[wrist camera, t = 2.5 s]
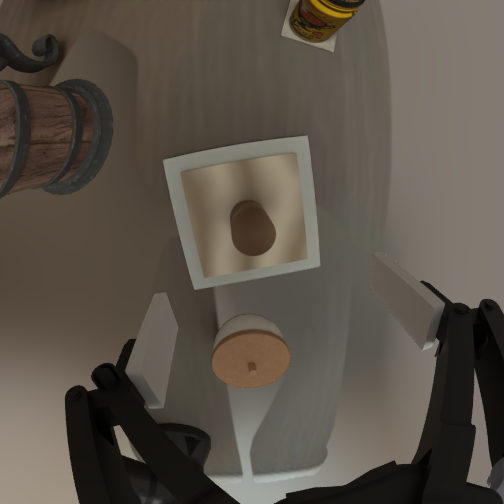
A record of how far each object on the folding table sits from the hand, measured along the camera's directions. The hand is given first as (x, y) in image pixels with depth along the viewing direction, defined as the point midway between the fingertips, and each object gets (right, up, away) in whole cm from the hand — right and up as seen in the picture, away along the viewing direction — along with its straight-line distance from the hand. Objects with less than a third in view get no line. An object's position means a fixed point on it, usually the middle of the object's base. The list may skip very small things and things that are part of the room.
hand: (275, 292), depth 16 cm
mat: (-2, +7, +18) cm, 20 cm away
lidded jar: (-2, -10, +25) cm, 27 cm away
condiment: (+7, +33, +9) cm, 35 cm away
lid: (-2, +7, +18) cm, 19 cm away
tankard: (-28, +21, +10) cm, 37 cm away
